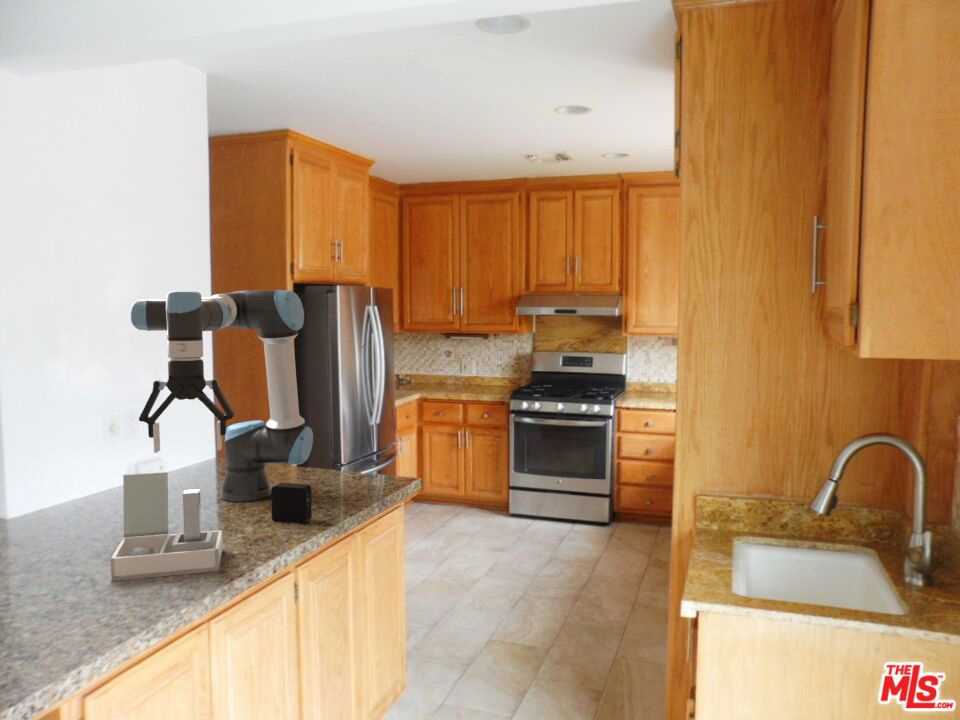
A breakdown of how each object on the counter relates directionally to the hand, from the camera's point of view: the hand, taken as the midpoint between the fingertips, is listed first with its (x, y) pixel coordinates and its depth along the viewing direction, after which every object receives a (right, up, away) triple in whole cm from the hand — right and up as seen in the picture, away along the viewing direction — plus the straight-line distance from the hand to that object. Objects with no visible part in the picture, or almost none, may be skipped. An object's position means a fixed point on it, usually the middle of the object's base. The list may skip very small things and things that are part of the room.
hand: (188, 450), depth 165 cm
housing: (-4, -27, 0) cm, 27 cm away
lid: (-12, -14, +5) cm, 19 cm away
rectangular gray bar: (+1, -25, +2) cm, 26 cm away
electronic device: (+15, -24, +34) cm, 44 cm away
